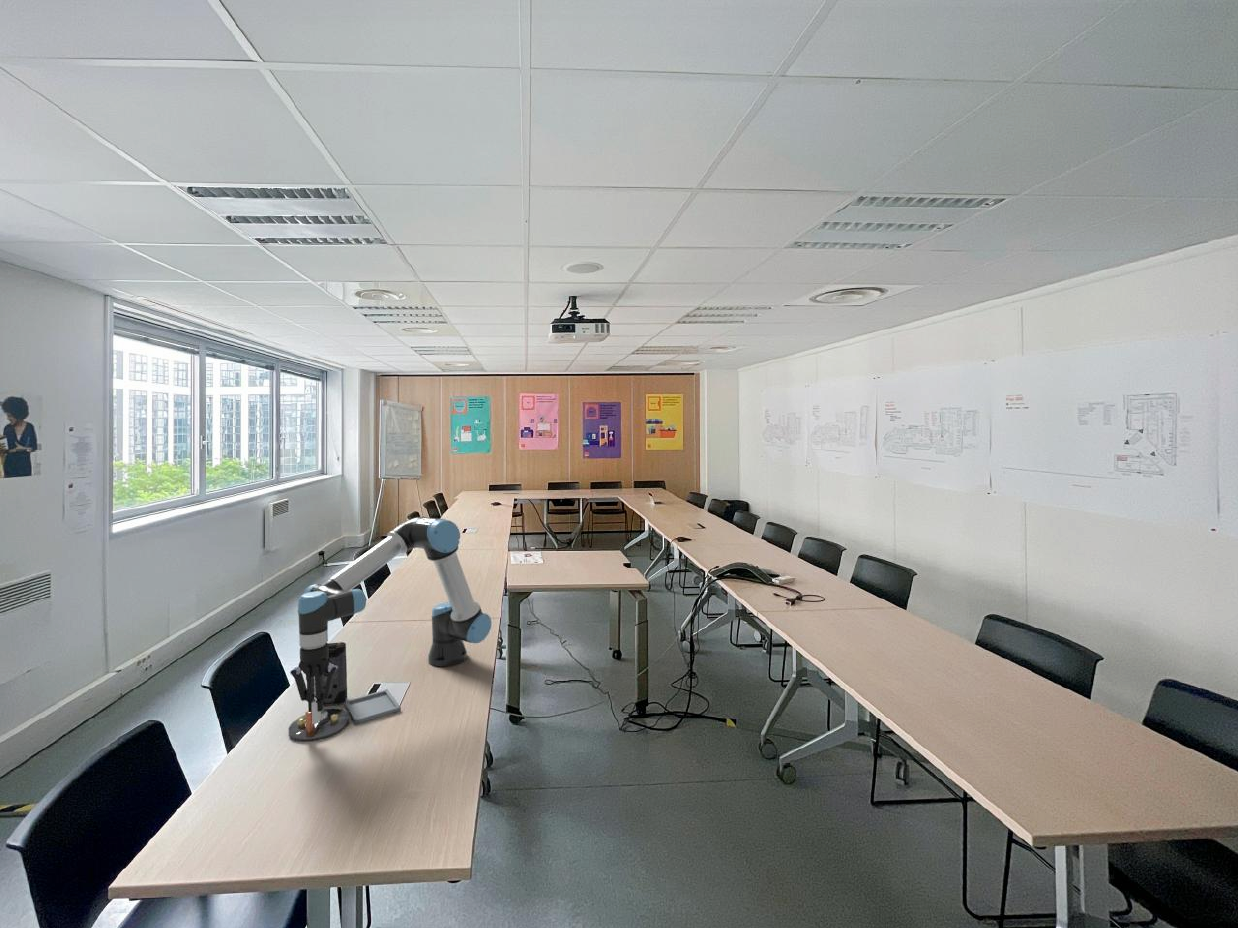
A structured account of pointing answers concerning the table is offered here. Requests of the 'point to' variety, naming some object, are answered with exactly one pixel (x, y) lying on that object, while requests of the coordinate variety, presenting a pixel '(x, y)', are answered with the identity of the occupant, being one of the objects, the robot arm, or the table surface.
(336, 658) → the electronic device
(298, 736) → the crank base
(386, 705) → the tray
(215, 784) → the table surface
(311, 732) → the crank
